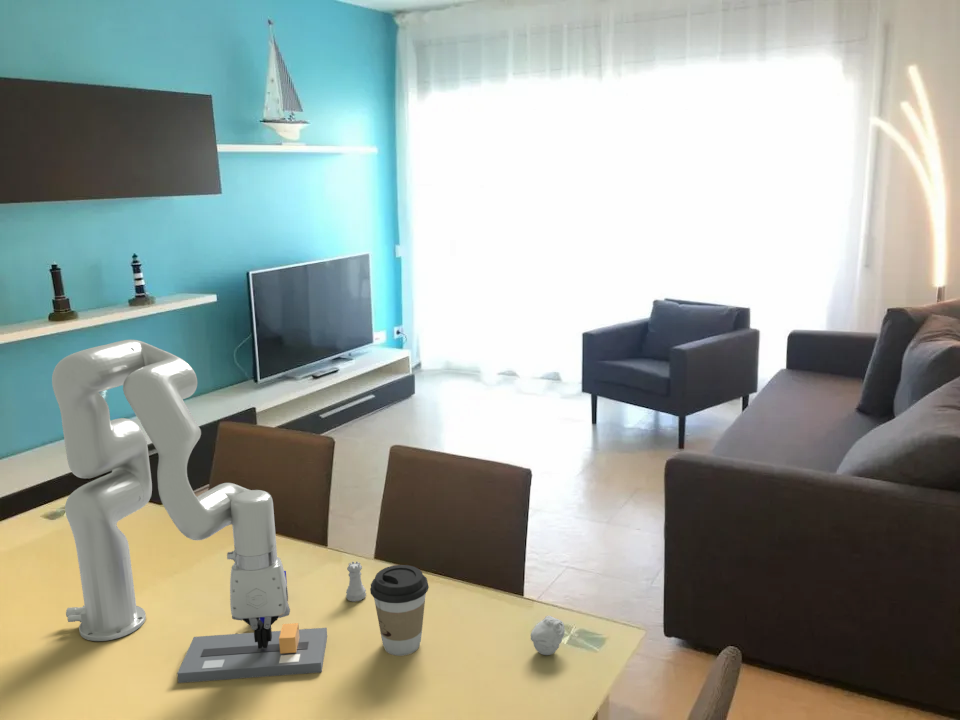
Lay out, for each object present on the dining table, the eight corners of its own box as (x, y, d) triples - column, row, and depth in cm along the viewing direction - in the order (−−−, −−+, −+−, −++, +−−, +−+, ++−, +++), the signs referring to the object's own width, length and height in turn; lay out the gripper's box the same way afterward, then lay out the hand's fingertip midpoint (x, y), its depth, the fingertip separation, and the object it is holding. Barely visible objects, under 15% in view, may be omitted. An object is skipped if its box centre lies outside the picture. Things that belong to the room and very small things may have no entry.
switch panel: (178, 682, 144) (177, 672, 144) (194, 645, 156) (193, 636, 156) (321, 672, 147) (320, 662, 146) (327, 636, 158) (326, 627, 158)
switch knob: (280, 653, 149) (278, 638, 148) (283, 638, 154) (282, 624, 153) (296, 652, 149) (295, 637, 148) (299, 637, 154) (298, 623, 153)
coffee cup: (362, 642, 156) (358, 573, 153) (410, 623, 163) (408, 556, 159) (392, 669, 147) (388, 597, 144) (442, 647, 154) (439, 577, 151)
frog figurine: (571, 654, 151) (571, 621, 150) (542, 666, 147) (542, 632, 146) (552, 639, 156) (552, 607, 155) (523, 650, 152) (523, 618, 151)
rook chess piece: (357, 604, 170) (355, 570, 169) (341, 599, 173) (339, 565, 171) (370, 595, 174) (368, 562, 172) (355, 590, 176) (353, 557, 175)
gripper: (210, 568, 142) (219, 658, 147) (294, 563, 144) (301, 652, 148) (219, 550, 150) (227, 636, 154) (299, 545, 151) (305, 630, 155)
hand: (263, 644), depth 151 cm, fingers closed
